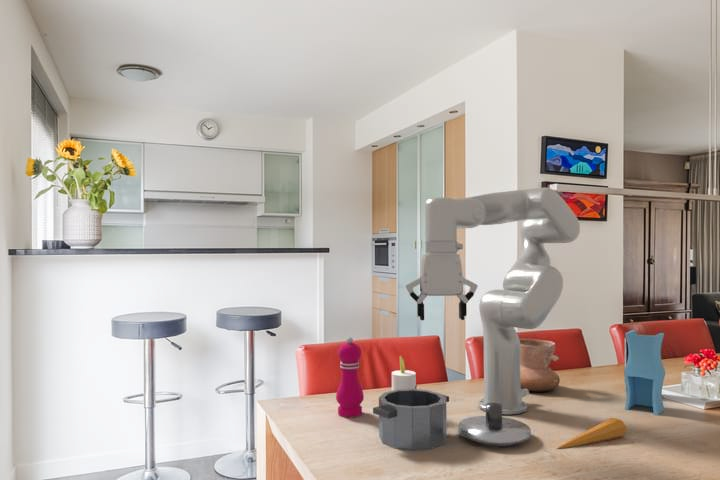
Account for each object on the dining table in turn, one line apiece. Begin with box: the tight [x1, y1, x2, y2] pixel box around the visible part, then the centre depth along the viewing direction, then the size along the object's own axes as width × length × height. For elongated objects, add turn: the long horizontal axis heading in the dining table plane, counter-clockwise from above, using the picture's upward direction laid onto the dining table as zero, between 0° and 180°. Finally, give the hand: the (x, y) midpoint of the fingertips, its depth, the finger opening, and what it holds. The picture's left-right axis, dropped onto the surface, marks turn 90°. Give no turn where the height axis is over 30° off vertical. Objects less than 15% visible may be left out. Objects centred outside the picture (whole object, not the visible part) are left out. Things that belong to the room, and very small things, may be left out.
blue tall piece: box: [623, 329, 666, 416], centre depth 141 cm, size 8×8×20 cm
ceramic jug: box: [519, 338, 561, 393], centre depth 163 cm, size 18×14×14 cm
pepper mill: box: [335, 336, 365, 418], centre depth 139 cm, size 7×7×20 cm
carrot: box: [555, 417, 627, 450], centre depth 118 cm, size 20×4×4 cm, turn 114°
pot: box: [372, 388, 450, 451], centre depth 121 cm, size 19×15×9 cm
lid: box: [457, 403, 532, 447], centre depth 121 cm, size 16×16×8 cm
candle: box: [391, 355, 418, 391], centre depth 139 cm, size 6×6×15 cm
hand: (441, 319), depth 129 cm, fingers open, 9 cm apart
